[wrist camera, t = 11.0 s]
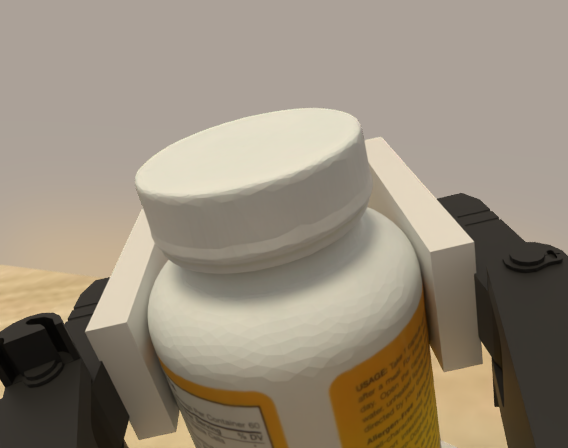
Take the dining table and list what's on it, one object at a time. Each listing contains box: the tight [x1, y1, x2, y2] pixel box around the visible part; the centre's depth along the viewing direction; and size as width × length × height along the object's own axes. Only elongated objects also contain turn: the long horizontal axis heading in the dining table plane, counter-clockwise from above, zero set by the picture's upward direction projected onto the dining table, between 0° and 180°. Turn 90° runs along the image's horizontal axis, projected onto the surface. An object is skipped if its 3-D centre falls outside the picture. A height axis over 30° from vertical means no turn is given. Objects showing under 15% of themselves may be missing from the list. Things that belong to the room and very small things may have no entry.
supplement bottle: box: [135, 108, 441, 448], centre depth 11 cm, size 5×5×10 cm
